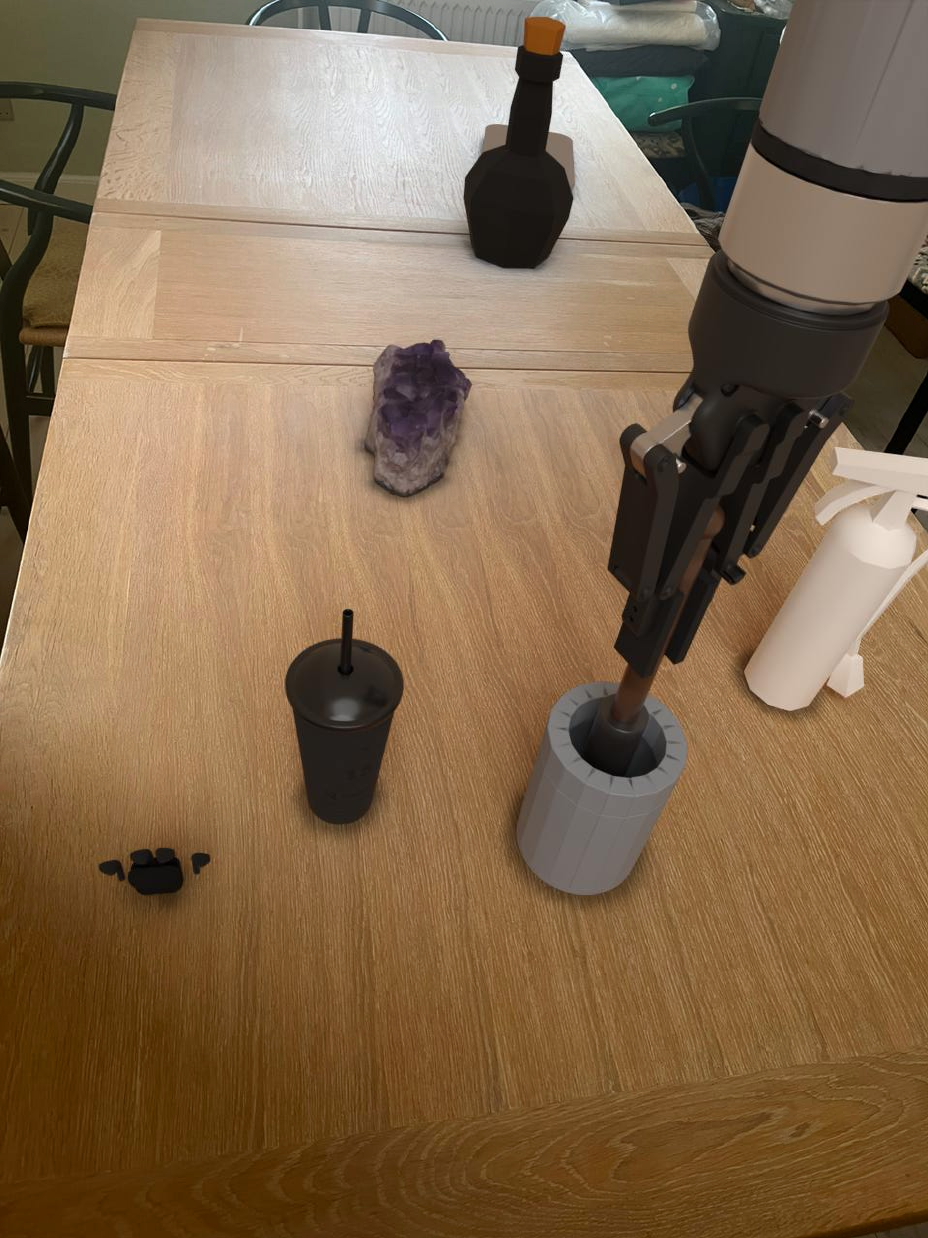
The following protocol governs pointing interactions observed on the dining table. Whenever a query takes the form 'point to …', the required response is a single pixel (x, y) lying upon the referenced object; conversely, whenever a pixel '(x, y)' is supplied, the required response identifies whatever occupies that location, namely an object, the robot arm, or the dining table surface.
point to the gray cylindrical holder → (595, 796)
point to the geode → (414, 415)
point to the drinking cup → (342, 720)
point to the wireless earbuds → (154, 870)
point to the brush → (637, 687)
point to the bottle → (522, 165)
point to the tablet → (556, 147)
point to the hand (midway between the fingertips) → (648, 653)
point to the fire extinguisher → (843, 580)
